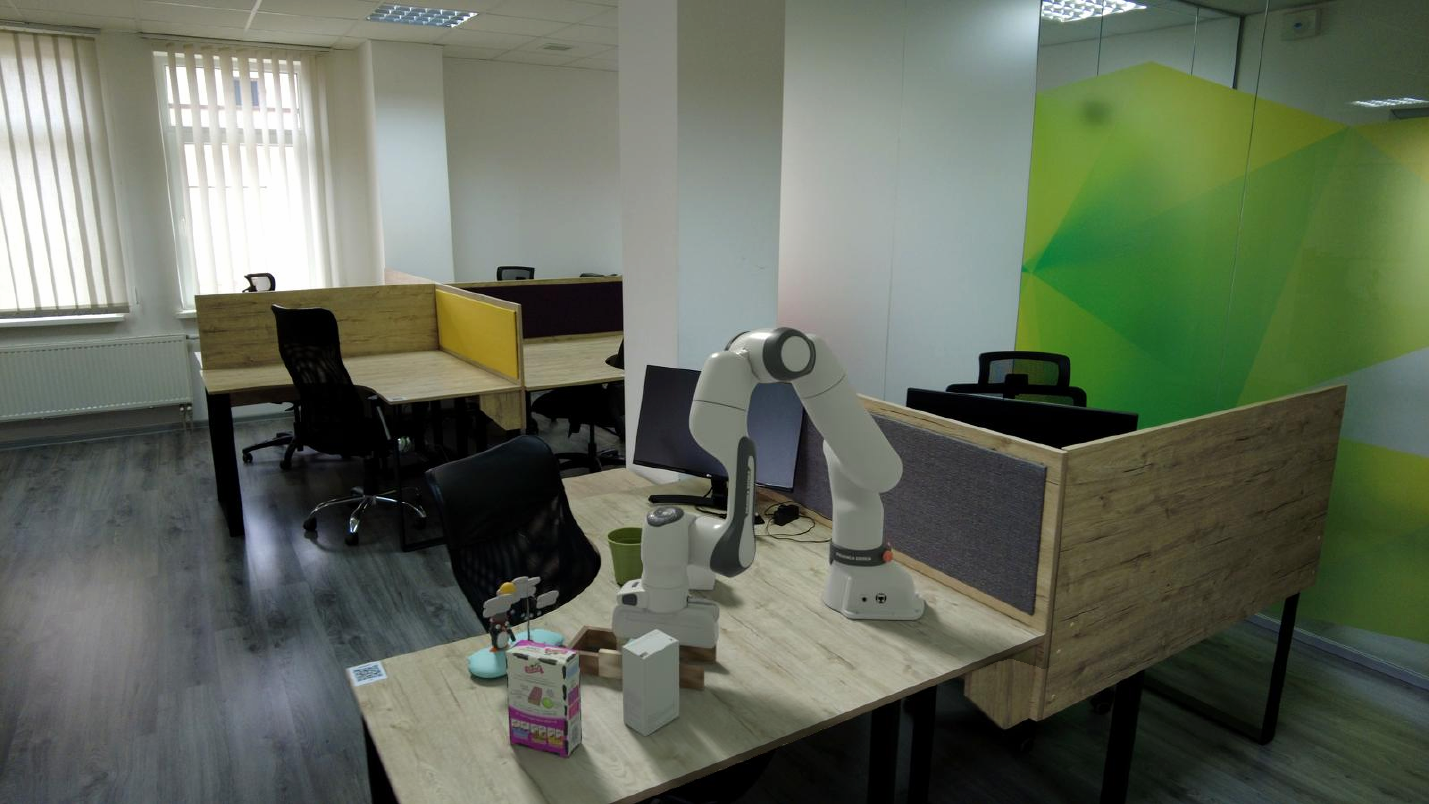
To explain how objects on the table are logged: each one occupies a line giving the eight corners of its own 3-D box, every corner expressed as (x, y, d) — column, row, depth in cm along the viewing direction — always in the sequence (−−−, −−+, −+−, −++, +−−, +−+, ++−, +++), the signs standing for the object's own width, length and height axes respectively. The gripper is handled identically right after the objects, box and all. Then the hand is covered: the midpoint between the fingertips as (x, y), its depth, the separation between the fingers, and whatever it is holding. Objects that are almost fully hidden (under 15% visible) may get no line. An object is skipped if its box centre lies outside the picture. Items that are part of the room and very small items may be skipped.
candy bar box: (583, 741, 139) (581, 649, 136) (568, 759, 134) (565, 664, 131) (525, 726, 143) (521, 637, 139) (508, 743, 138) (503, 651, 135)
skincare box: (657, 704, 150) (656, 626, 147) (681, 718, 146) (681, 638, 143) (621, 724, 144) (619, 644, 141) (645, 739, 140) (644, 656, 137)
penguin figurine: (484, 688, 154) (480, 611, 151) (455, 666, 162) (450, 592, 159) (574, 650, 168) (572, 578, 165) (544, 631, 176) (541, 563, 173)
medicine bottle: (715, 578, 202) (716, 530, 200) (712, 591, 195) (713, 541, 193) (686, 576, 203) (686, 529, 201) (682, 589, 196) (682, 540, 194)
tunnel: (716, 660, 165) (716, 637, 164) (702, 690, 154) (702, 665, 153) (584, 643, 171) (584, 620, 170) (563, 671, 160) (562, 647, 159)
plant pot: (644, 593, 194) (644, 547, 191) (597, 586, 197) (596, 540, 195) (664, 573, 205) (664, 529, 202) (619, 567, 208) (618, 523, 206)
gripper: (723, 592, 159) (722, 660, 162) (619, 581, 163) (620, 647, 166) (715, 607, 153) (714, 677, 156) (608, 594, 157) (609, 663, 160)
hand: (665, 661), depth 161 cm, fingers closed
